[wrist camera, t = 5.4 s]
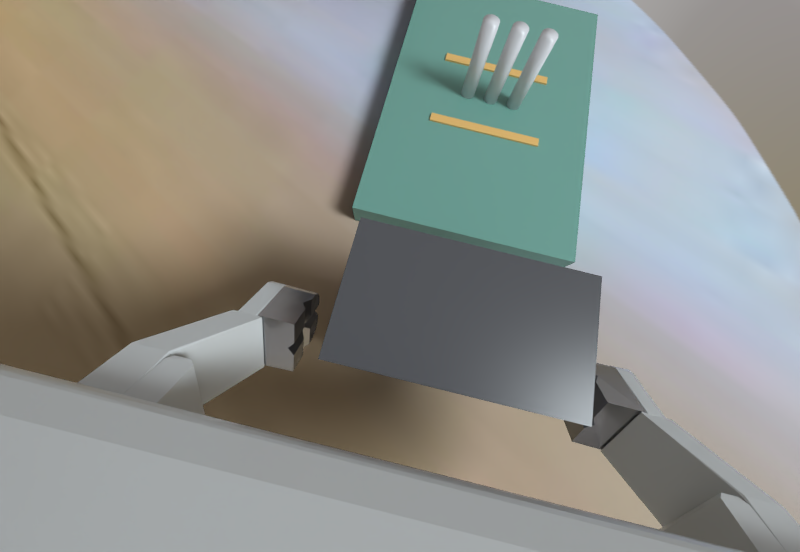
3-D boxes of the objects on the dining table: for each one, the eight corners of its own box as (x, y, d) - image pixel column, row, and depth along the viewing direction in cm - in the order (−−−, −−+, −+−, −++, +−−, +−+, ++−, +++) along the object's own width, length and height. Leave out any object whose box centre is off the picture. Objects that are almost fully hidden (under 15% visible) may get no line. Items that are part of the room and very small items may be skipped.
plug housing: (356, 352, 15) (318, 358, 6) (373, 289, 16) (360, 217, 7) (469, 380, 15) (592, 427, 6) (480, 316, 16) (601, 276, 7)
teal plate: (354, 219, 17) (341, 159, 11) (422, -2, 21) (435, -119, 16) (558, 269, 17) (640, 232, 11) (582, 37, 21) (650, -68, 16)
